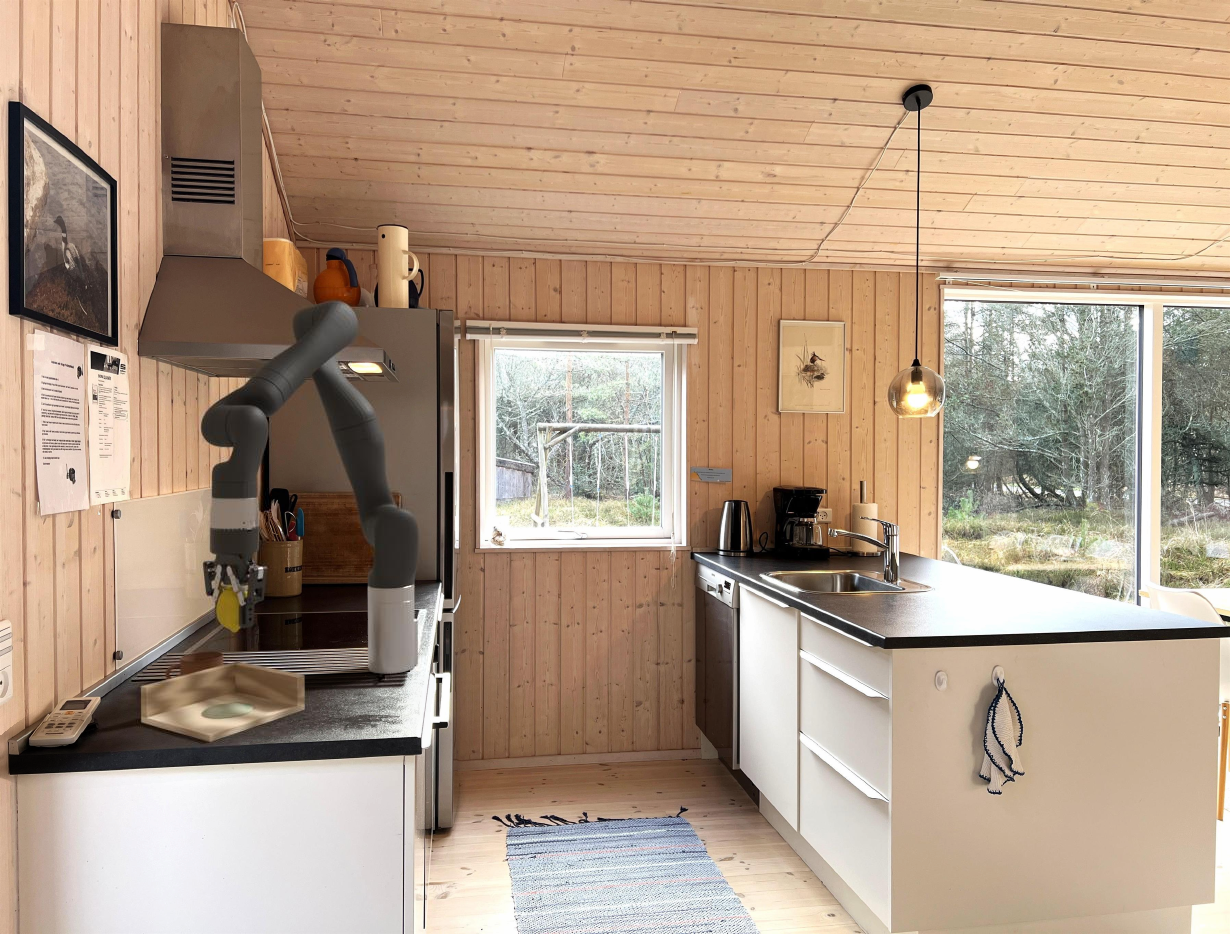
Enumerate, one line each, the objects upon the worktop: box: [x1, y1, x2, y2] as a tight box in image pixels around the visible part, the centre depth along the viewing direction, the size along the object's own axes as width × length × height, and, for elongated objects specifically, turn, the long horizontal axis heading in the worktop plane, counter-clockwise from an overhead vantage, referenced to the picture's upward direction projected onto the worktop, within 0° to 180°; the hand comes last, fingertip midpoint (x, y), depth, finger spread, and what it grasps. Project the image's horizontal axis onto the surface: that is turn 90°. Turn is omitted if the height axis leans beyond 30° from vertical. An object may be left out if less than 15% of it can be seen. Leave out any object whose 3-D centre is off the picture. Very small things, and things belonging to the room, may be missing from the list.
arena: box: [140, 661, 306, 742], centre depth 142 cm, size 18×18×6 cm
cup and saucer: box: [165, 651, 224, 680], centre depth 158 cm, size 12×12×6 cm
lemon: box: [216, 587, 247, 633], centre depth 140 cm, size 6×6×8 cm
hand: (234, 624), depth 140 cm, fingers closed on lemon, 5 cm apart
